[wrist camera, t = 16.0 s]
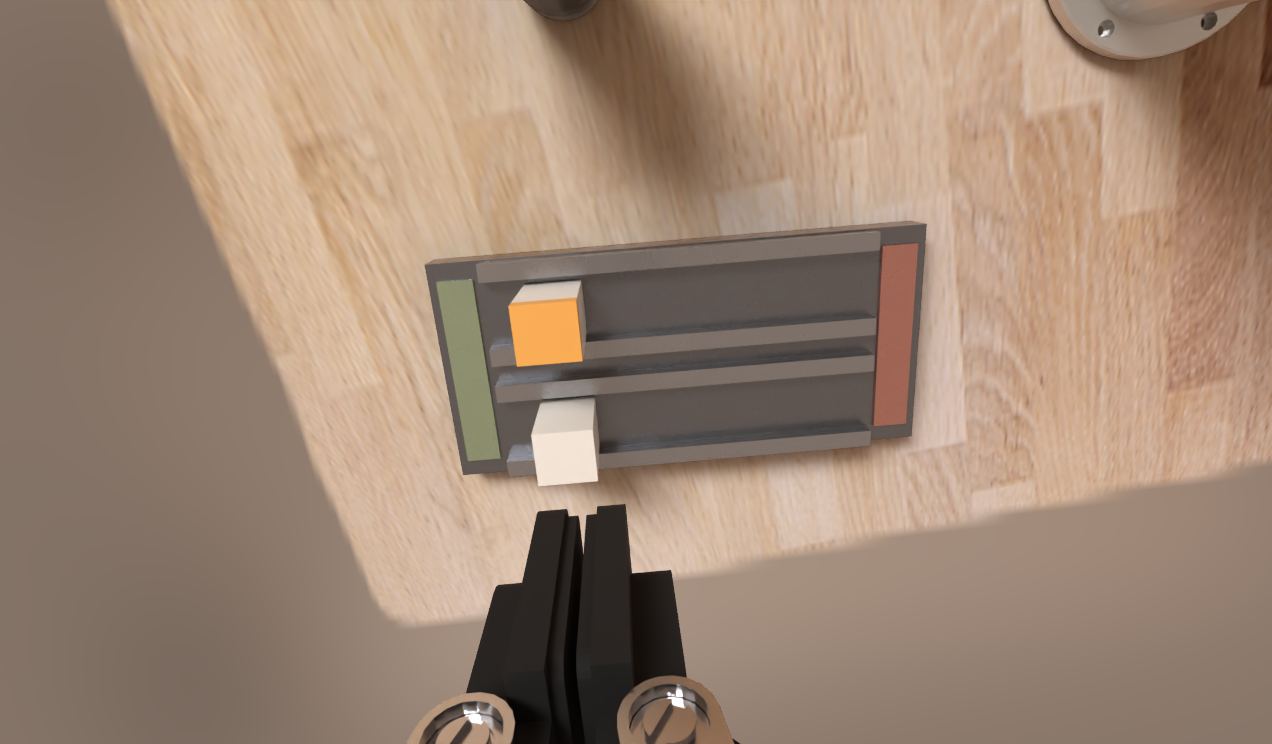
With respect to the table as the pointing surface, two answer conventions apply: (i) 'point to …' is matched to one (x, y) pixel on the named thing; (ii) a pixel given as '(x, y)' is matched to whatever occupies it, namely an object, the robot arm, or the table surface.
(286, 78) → the table surface
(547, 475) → the block
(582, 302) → the block
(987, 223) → the table surface
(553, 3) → the beverage cup
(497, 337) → the gray rail tray
